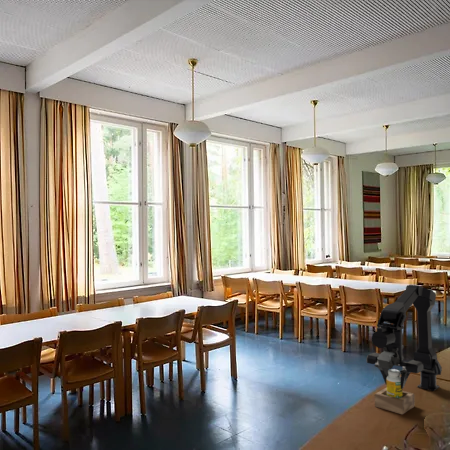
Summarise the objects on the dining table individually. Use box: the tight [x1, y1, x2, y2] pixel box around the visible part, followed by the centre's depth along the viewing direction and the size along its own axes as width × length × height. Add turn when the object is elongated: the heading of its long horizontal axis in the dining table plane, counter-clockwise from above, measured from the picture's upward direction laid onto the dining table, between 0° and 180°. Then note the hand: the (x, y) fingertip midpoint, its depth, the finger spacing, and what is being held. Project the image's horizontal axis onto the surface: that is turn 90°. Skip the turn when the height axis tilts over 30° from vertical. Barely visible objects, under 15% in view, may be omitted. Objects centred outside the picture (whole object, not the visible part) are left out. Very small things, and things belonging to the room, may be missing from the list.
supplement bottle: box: [386, 368, 404, 399], centre depth 160 cm, size 5×5×10 cm
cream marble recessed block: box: [374, 386, 415, 415], centre depth 160 cm, size 10×10×4 cm
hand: (394, 386), depth 160 cm, fingers closed on supplement bottle, 5 cm apart
